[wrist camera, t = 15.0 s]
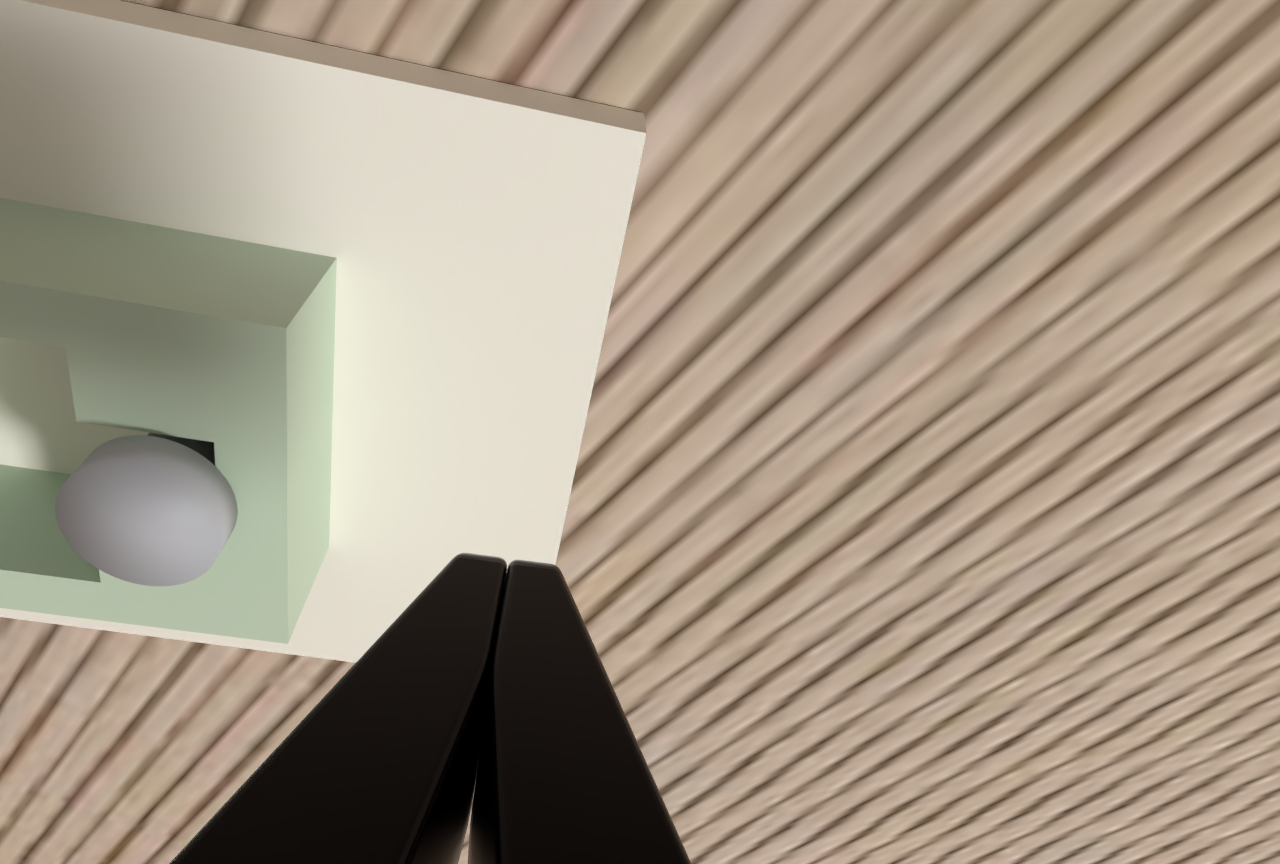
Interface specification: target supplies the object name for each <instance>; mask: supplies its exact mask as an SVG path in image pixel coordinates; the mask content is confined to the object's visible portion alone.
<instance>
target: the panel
mask: <svg viewBox="0 0 1280 864" xmlns="http://www.w3.org/2000/svg"><path fill="white" fill-rule="evenodd" d="M336 270H337V258H335V257H329V256H324V255H318V254H313V253H307V252H301V251H296V250H290V249H285V248H279V247H273V246H268V245H262V244H257V243H251V242H245V241H240V240H234V239H229V238H223V237H218V236H212V235H206V234H201V233H195V232H190V231H184V230H178V229H173V228H167V227H162V226H156V225H150V224H145V223H139V222H134V221H128V220H122V219H117V218H111V217H106V216H100V215H94V214H89V213H83V212H78V211H72V210H66V209H61V208H55V207H50V206H44V205H38V204H33V203H27V202H22V201H16V200H11V199H5V198H0V337H3V338H9V339H15V340H22V341H28V342H34V343H40V344H47V345H53V346H59V347H65V349H66V355H67V362H68V369H69V375H70V382H71V389H72V395H73V402H74V409H75V415H76V422H82V423H89V424H96V425H102V426H109V427H115V428H122V429H129V430H135V431H142V432H149V433H155V434H162V435H168V436H175V437H182V438H188V439H195V440H202V441H208V442H214V451H215V467H216V468H217V469H218V470H219V471H220V472H221V473H222V474H223V475H224V477H225V478H226V479H227V481H228V482H229V484H230V486H231V488H232V490H233V492H234V494H235V498H236V501H237V509H238V513H237V521H236V525H235V527H234V529H233V531H232V533H231V535H230V537H229V538H228V540H227V542H226V543H225V545H224V547H223V549H222V550H221V552H220V554H219V556H218V557H217V559H216V561H215V562H214V564H213V565H212V566H211V568H210V569H209V570H208V571H207V572H205V573H204V574H203V575H201V576H200V577H198V578H196V579H194V580H192V581H189V582H186V583H183V584H179V585H174V586H145V585H140V584H134V583H131V582H127V581H124V580H121V579H118V578H115V577H113V576H111V575H109V574H107V573H104V572H103V571H101V570H99V569H98V568H96V567H94V566H93V565H91V564H90V563H89V562H87V561H86V560H85V559H83V558H82V557H81V556H80V555H79V554H78V553H77V552H76V551H75V550H74V549H73V548H72V547H71V546H70V544H69V543H68V542H67V540H66V539H65V537H64V536H63V534H62V532H61V530H60V528H59V525H58V522H57V518H56V512H55V504H56V498H57V495H58V492H59V490H60V488H61V486H62V485H63V484H64V482H65V481H66V480H67V479H68V478H69V477H70V476H71V474H64V473H57V472H50V471H43V470H36V469H29V468H23V467H16V466H9V465H2V464H0V608H5V609H13V610H21V611H29V612H37V613H45V614H53V615H61V616H69V617H77V618H85V619H93V620H101V621H109V622H117V623H125V624H133V625H141V626H149V627H157V628H165V629H173V630H181V631H189V632H197V633H205V634H213V635H221V636H229V637H237V638H245V639H253V640H261V641H269V642H277V643H285V644H288V642H289V640H290V638H291V635H292V633H293V631H294V628H295V626H296V624H297V621H298V619H299V616H300V614H301V612H302V609H303V607H304V605H305V602H306V600H307V598H308V595H309V593H310V590H311V588H312V586H313V583H314V581H315V579H316V576H317V574H318V572H319V569H320V567H321V565H322V562H323V560H324V557H325V555H326V553H327V550H328V548H329V533H330V496H331V458H332V420H333V383H334V345H335V308H336Z"/></svg>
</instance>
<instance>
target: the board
mask: <svg viewBox="0 0 1280 864" xmlns="http://www.w3.org/2000/svg"><path fill="white" fill-rule="evenodd" d="M645 137H646V126H645V117H644V113H641V112H636V111H632V110H627V109H622V108H618V107H613V106H608V105H604V104H599V103H595V102H590V101H585V100H581V99H576V98H571V97H567V96H562V95H557V94H553V93H548V92H543V91H539V90H534V89H530V88H525V87H520V86H516V85H511V84H506V83H502V82H497V81H492V80H488V79H483V78H478V77H474V76H469V75H465V74H460V73H455V72H451V71H446V70H441V69H437V68H432V67H427V66H423V65H418V64H413V63H409V62H404V61H400V60H395V59H390V58H386V57H381V56H376V55H372V54H367V53H362V52H358V51H353V50H348V49H344V48H339V47H335V46H330V45H325V44H321V43H316V42H311V41H307V40H302V39H297V38H293V37H288V36H283V35H279V34H274V33H270V32H265V31H260V30H256V29H251V28H246V27H242V26H237V25H232V24H228V23H223V22H218V21H214V20H209V19H204V18H200V17H195V16H191V15H186V14H181V13H177V12H172V11H167V10H163V9H158V8H153V7H149V6H144V5H139V4H135V3H130V2H126V1H121V0H0V198H5V199H11V200H16V201H22V202H27V203H33V204H38V205H44V206H50V207H55V208H61V209H66V210H72V211H78V212H83V213H89V214H94V215H100V216H106V217H111V218H117V219H122V220H128V221H134V222H139V223H145V224H150V225H156V226H162V227H167V228H173V229H178V230H184V231H190V232H195V233H201V234H206V235H212V236H218V237H223V238H229V239H234V240H240V241H245V242H251V243H257V244H262V245H268V246H273V247H279V248H285V249H290V250H296V251H301V252H307V253H313V254H318V255H324V256H329V257H335V258H337V270H336V308H335V345H334V383H333V420H332V458H331V496H330V533H329V548H328V550H327V553H326V555H325V557H324V560H323V562H322V565H321V567H320V569H319V572H318V574H317V576H316V579H315V581H314V583H313V586H312V588H311V590H310V593H309V595H308V598H307V600H306V602H305V605H304V607H303V609H302V612H301V614H300V616H299V619H298V621H297V624H296V626H295V628H294V631H293V633H292V635H291V638H290V640H289V642H288V644H285V643H277V642H269V641H261V640H253V639H245V638H237V637H229V636H221V635H213V634H205V633H197V632H189V631H181V630H173V629H165V628H157V627H149V626H141V625H133V624H125V623H117V622H109V621H101V620H93V619H85V618H77V617H69V616H61V615H53V614H45V613H37V612H29V611H21V610H13V609H5V608H0V617H5V618H13V619H21V620H28V621H36V622H44V623H52V624H59V625H67V626H75V627H83V628H91V629H98V630H106V631H114V632H122V633H129V634H137V635H145V636H153V637H160V638H168V639H176V640H184V641H192V642H199V643H207V644H215V645H223V646H230V647H238V648H246V649H254V650H261V651H269V652H277V653H285V654H292V655H300V656H308V657H316V658H324V659H331V660H339V661H347V662H355V663H356V662H357V661H358V660H359V659H360V658H361V657H362V656H363V655H364V653H365V652H366V651H367V650H368V649H369V648H370V647H371V646H372V645H373V644H374V643H375V642H376V641H377V639H378V638H379V637H380V636H381V635H382V634H383V633H384V632H385V631H386V630H387V629H388V628H389V627H390V625H391V624H392V623H393V622H394V621H395V620H396V619H397V618H398V617H399V616H400V615H401V614H402V613H403V611H404V610H405V609H406V608H407V607H408V606H409V605H410V604H411V603H412V602H413V601H414V600H415V599H416V597H417V596H418V595H419V594H420V593H421V592H422V591H423V590H424V589H425V588H426V587H427V586H428V585H429V583H430V582H431V581H432V580H433V579H434V578H435V577H436V576H437V575H438V574H439V573H440V572H441V571H442V569H443V568H444V567H445V566H446V565H447V564H448V563H449V562H450V561H451V560H452V559H453V558H454V557H455V556H456V555H458V554H460V553H471V554H479V555H487V556H495V557H500V558H503V559H504V560H505V561H506V563H507V569H508V565H509V564H510V563H511V561H513V560H526V561H533V562H541V563H549V564H554V565H555V564H556V559H557V554H558V550H559V545H560V540H561V535H562V531H563V526H564V521H565V516H566V512H567V507H568V502H569V497H570V493H571V488H572V483H573V478H574V474H575V469H576V464H577V460H578V455H579V450H580V445H581V441H582V436H583V431H584V426H585V422H586V417H587V412H588V407H589V403H590V398H591V393H592V388H593V384H594V379H595V374H596V369H597V365H598V360H599V355H600V351H601V346H602V341H603V336H604V332H605V327H606V322H607V317H608V313H609V308H610V303H611V298H612V294H613V289H614V284H615V279H616V275H617V270H618V265H619V261H620V256H621V251H622V246H623V242H624V237H625V232H626V227H627V223H628V218H629V213H630V208H631V204H632V199H633V194H634V189H635V185H636V180H637V175H638V171H639V166H640V161H641V156H642V152H643V147H644V142H645ZM0 464H2V465H9V466H16V467H23V468H29V469H36V470H43V471H50V472H57V473H64V474H71V476H70V477H69V478H68V479H67V480H66V481H65V482H64V484H63V485H62V486H61V488H60V490H59V492H58V495H57V498H56V504H55V512H56V518H57V522H58V525H59V528H60V530H61V532H62V534H63V536H64V537H65V539H66V540H67V542H68V543H69V544H70V546H71V547H72V548H73V549H74V550H75V551H76V552H77V553H78V554H79V555H80V556H81V557H82V558H83V559H85V560H86V561H87V562H89V563H90V564H91V565H93V566H94V567H96V568H98V569H99V570H101V571H103V572H104V573H107V574H109V575H111V576H113V577H115V578H118V579H121V580H124V581H127V582H131V583H134V584H140V585H145V586H174V585H179V584H183V583H186V582H189V581H192V580H194V579H196V578H198V577H200V576H201V575H203V574H204V573H205V572H207V571H208V570H209V569H210V568H211V566H212V565H213V564H214V562H215V561H216V559H217V557H218V556H219V554H220V552H221V550H222V549H223V547H224V545H225V543H226V542H227V540H228V538H229V537H230V535H231V533H232V531H233V529H234V527H235V525H236V521H237V513H238V509H237V501H236V498H235V494H234V492H233V490H232V488H231V486H230V484H229V482H228V481H227V479H226V478H225V477H224V475H223V474H222V473H221V472H220V471H219V470H218V469H217V468H216V467H215V451H214V442H208V441H202V440H195V439H188V438H182V437H175V436H168V435H162V434H155V433H149V432H142V431H135V430H129V429H122V428H115V427H109V426H102V425H96V424H89V423H82V422H76V415H75V409H74V402H73V395H72V389H71V382H70V375H69V369H68V362H67V355H66V349H65V347H59V346H53V345H47V344H40V343H34V342H28V341H22V340H15V339H9V338H3V337H0Z"/></svg>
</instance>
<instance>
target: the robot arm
mask: <svg viewBox="0 0 1280 864" xmlns="http://www.w3.org/2000/svg"><path fill="white" fill-rule="evenodd" d="M476 775H477V776H476ZM475 781H476V783H475ZM474 788H475V791H474ZM473 794H474V799H473ZM472 800H473V807H472V815H471V823H470V836H469V851H468V864H691V862H690V860H689V858H688V855H687V853H686V851H685V849H684V846H683V844H682V842H681V840H680V837H679V835H678V833H677V831H676V828H675V826H674V824H673V822H672V819H671V817H670V815H669V813H668V810H667V808H666V806H665V804H664V801H663V799H662V797H661V795H660V792H659V790H658V788H657V786H656V783H655V781H654V779H653V777H652V774H651V772H650V770H649V768H648V765H647V763H646V761H645V759H644V756H643V754H642V752H641V750H640V747H639V745H638V743H637V741H636V738H635V736H634V734H633V732H632V729H631V727H630V725H629V723H628V720H627V718H626V716H625V714H624V711H623V709H622V707H621V705H620V702H619V700H618V698H617V696H616V693H615V691H614V689H613V687H612V684H611V682H610V680H609V678H608V675H607V673H606V671H605V669H604V666H603V664H602V662H601V660H600V658H599V655H598V653H597V651H596V649H595V646H594V644H593V642H592V640H591V637H590V635H589V633H588V631H587V628H586V626H585V624H584V622H583V619H582V617H581V615H580V613H579V610H578V608H577V606H576V604H575V601H574V599H573V597H572V595H571V592H570V590H569V588H568V586H567V583H566V581H565V579H564V577H563V574H562V572H561V571H560V569H559V568H558V567H557V566H556V565H554V564H549V563H541V562H533V561H526V560H513V561H511V563H510V564H509V565H508V569H507V563H506V561H505V560H504V559H503V558H500V557H495V556H487V555H479V554H471V553H460V554H458V555H456V556H455V557H454V558H453V559H452V560H451V561H450V562H449V563H448V564H447V565H446V566H445V567H444V568H443V569H442V571H441V572H440V573H439V574H438V575H437V576H436V577H435V578H434V579H433V580H432V581H431V582H430V583H429V585H428V586H427V587H426V588H425V589H424V590H423V591H422V592H421V593H420V594H419V595H418V596H417V597H416V599H415V600H414V601H413V602H412V603H411V604H410V605H409V606H408V607H407V608H406V609H405V610H404V611H403V613H402V614H401V615H400V616H399V617H398V618H397V619H396V620H395V621H394V622H393V623H392V624H391V625H390V627H389V628H388V629H387V630H386V631H385V632H384V633H383V634H382V635H381V636H380V637H379V638H378V639H377V641H376V642H375V643H374V644H373V645H372V646H371V647H370V648H369V649H368V650H367V651H366V652H365V653H364V655H363V656H362V657H361V658H360V659H359V660H358V661H357V662H356V663H355V664H354V665H353V666H352V667H351V669H350V670H349V671H348V672H347V673H346V674H345V675H344V676H343V677H342V678H341V679H340V680H339V681H338V683H337V684H336V685H335V686H334V687H333V688H332V689H331V690H330V691H329V692H328V693H327V694H326V695H325V697H324V698H323V699H322V700H321V701H320V702H319V703H318V704H317V705H316V706H315V707H314V708H313V710H312V711H311V712H310V713H309V714H308V715H307V716H306V717H305V718H304V719H303V720H302V721H301V722H300V724H299V725H298V726H297V727H296V728H295V729H294V730H293V731H292V732H291V733H290V734H289V735H288V736H287V738H286V739H285V740H284V741H283V742H282V743H281V744H280V745H279V746H278V747H277V748H276V749H275V750H274V752H273V753H272V754H271V755H270V756H269V757H268V758H267V759H266V760H265V761H264V762H263V763H262V764H261V766H260V767H259V768H258V769H257V770H256V771H255V772H254V773H253V774H252V775H251V776H250V777H249V778H248V780H247V781H246V782H245V783H244V784H243V785H242V786H241V787H240V788H239V789H238V790H237V791H236V792H235V794H234V795H233V796H232V797H231V798H230V799H229V800H228V801H227V802H226V803H225V804H224V805H223V806H222V808H221V809H220V810H219V811H218V812H217V813H216V814H215V815H214V816H213V817H212V818H211V819H210V820H209V822H208V823H207V824H206V825H205V826H204V827H203V828H202V829H201V830H200V831H199V832H198V833H197V834H196V836H195V837H194V838H193V839H192V840H191V841H190V842H189V843H188V844H187V845H186V846H185V847H184V848H183V850H182V851H181V852H180V853H179V854H178V855H177V856H176V857H175V858H174V859H173V860H172V861H171V862H170V864H458V861H459V858H460V854H461V850H462V846H463V842H464V838H465V834H466V830H467V826H468V821H469V816H470V810H471V805H472Z"/></svg>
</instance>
